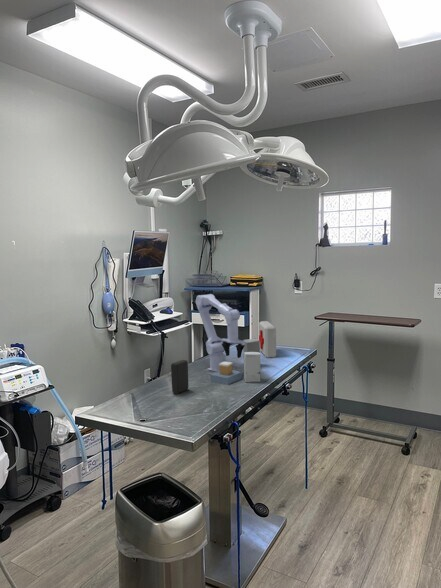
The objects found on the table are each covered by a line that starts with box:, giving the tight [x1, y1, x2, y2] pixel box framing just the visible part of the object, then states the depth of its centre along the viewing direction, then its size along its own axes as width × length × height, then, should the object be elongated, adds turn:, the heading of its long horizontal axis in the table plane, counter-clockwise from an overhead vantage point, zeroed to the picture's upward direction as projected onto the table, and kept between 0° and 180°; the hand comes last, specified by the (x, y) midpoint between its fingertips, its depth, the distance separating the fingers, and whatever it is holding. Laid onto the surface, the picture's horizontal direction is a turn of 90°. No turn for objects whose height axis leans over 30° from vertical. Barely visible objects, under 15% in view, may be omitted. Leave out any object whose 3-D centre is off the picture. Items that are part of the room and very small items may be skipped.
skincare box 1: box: [242, 338, 261, 354], centre depth 255 cm, size 8×7×16 cm
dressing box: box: [210, 369, 243, 386], centre depth 231 cm, size 13×11×4 cm
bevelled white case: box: [258, 320, 277, 359], centre depth 282 cm, size 21×8×20 cm, turn 6°
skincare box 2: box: [243, 351, 261, 383], centre depth 229 cm, size 8×6×15 cm
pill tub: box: [219, 361, 233, 375], centre depth 231 cm, size 5×5×6 cm
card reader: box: [170, 359, 189, 395], centre depth 214 cm, size 9×4×15 cm, turn 145°
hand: (233, 356), depth 238 cm, fingers open, 7 cm apart
